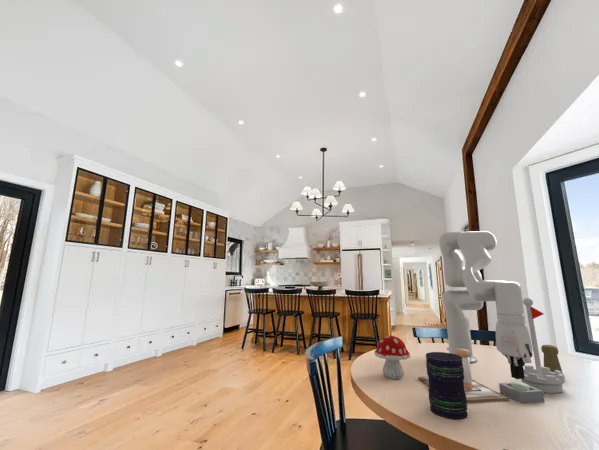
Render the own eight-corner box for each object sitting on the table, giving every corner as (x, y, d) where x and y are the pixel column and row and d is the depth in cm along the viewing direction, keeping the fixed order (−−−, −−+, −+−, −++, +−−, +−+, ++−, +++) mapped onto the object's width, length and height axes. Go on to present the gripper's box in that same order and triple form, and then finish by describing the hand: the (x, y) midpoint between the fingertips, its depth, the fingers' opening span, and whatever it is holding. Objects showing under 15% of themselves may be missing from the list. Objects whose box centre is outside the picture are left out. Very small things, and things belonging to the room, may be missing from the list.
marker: (457, 385, 100) (453, 348, 102) (468, 385, 100) (463, 348, 102) (464, 390, 96) (459, 351, 98) (475, 389, 96) (471, 350, 98)
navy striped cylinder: (451, 423, 76) (445, 362, 79) (422, 408, 85) (417, 354, 88) (476, 415, 80) (470, 358, 83) (446, 402, 89) (441, 350, 92)
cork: (567, 378, 110) (562, 347, 112) (549, 377, 111) (544, 346, 113) (557, 373, 115) (552, 343, 117) (540, 372, 117) (535, 343, 119)
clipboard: (417, 379, 110) (417, 375, 110) (463, 377, 112) (462, 373, 112) (453, 403, 88) (452, 398, 88) (509, 400, 90) (508, 395, 90)
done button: (509, 394, 95) (507, 382, 95) (522, 393, 95) (520, 381, 96) (520, 399, 90) (519, 387, 91) (534, 399, 91) (532, 386, 91)
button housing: (500, 392, 96) (499, 383, 97) (522, 391, 97) (521, 382, 97) (520, 403, 88) (519, 392, 89) (544, 401, 89) (543, 391, 90)
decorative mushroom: (380, 369, 122) (378, 331, 125) (415, 374, 115) (412, 334, 118) (370, 379, 110) (368, 337, 113) (409, 385, 104) (406, 340, 106)
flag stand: (509, 382, 106) (497, 297, 111) (538, 379, 108) (524, 296, 114) (546, 395, 93) (530, 299, 99) (577, 392, 96) (560, 298, 102)
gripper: (484, 316, 104) (490, 370, 101) (519, 323, 89) (527, 387, 86) (503, 315, 105) (510, 370, 102) (541, 322, 90) (550, 386, 87)
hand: (518, 377), depth 94 cm, fingers closed
